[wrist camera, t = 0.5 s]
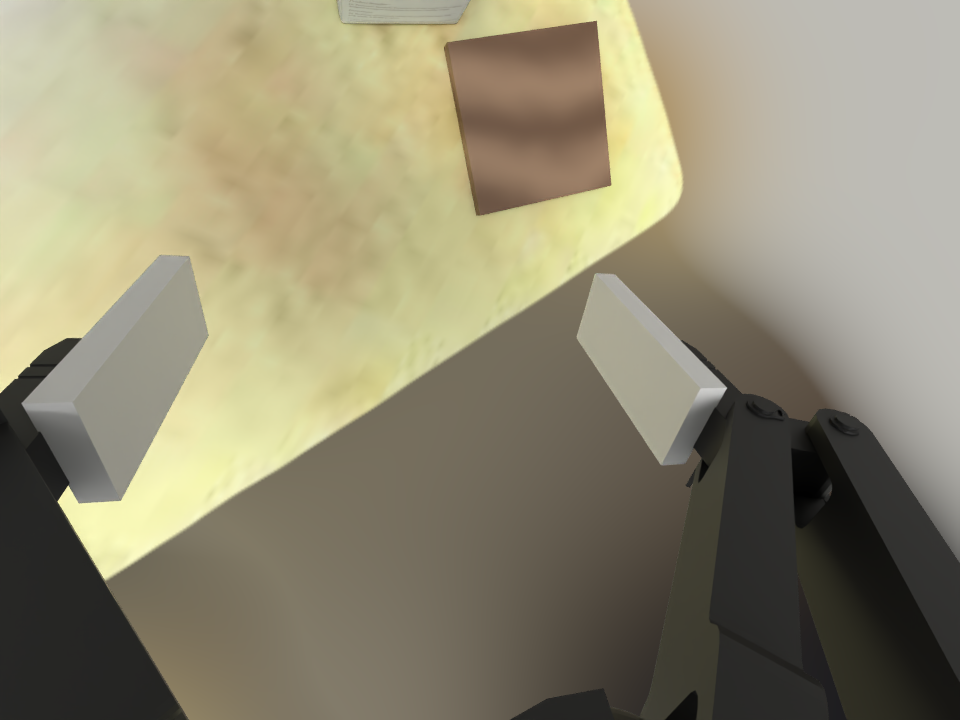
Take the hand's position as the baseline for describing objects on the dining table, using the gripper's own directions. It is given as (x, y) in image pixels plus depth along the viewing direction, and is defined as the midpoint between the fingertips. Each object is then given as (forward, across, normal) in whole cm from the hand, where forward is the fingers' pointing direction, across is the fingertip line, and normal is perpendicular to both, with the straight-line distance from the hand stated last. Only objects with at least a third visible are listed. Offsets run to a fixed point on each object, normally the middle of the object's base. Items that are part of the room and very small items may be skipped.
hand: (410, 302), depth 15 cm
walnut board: (+29, +12, +2) cm, 32 cm away
